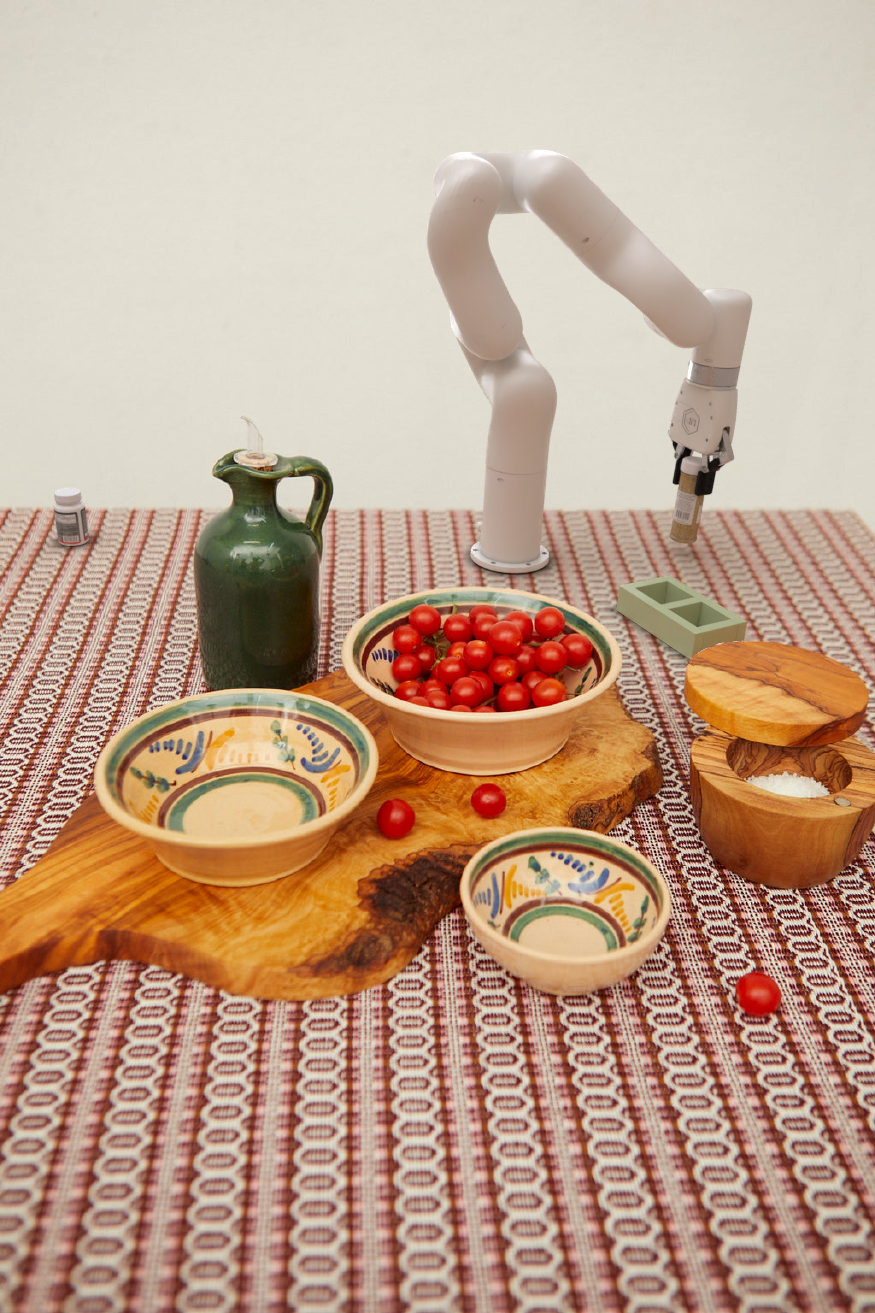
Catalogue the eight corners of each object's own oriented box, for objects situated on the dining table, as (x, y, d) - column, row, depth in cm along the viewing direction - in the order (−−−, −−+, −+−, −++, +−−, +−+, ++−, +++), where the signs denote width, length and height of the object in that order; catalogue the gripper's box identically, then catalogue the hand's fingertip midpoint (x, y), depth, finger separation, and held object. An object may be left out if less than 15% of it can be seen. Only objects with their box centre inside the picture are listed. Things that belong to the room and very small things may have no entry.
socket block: (691, 660, 147) (695, 634, 145) (616, 610, 160) (619, 585, 158) (742, 647, 151) (747, 621, 149) (665, 599, 164) (669, 574, 162)
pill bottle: (76, 533, 178) (70, 484, 174) (95, 540, 176) (89, 490, 172) (52, 541, 175) (45, 491, 171) (71, 549, 172) (64, 498, 168)
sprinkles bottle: (702, 541, 178) (718, 462, 172) (682, 546, 176) (697, 465, 170) (682, 532, 181) (697, 453, 175) (662, 536, 179) (676, 457, 173)
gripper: (658, 362, 171) (640, 474, 179) (732, 390, 158) (708, 509, 167) (695, 360, 174) (676, 470, 183) (770, 387, 161) (745, 504, 170)
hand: (692, 487), depth 175 cm, fingers closed on sprinkles bottle, 4 cm apart
